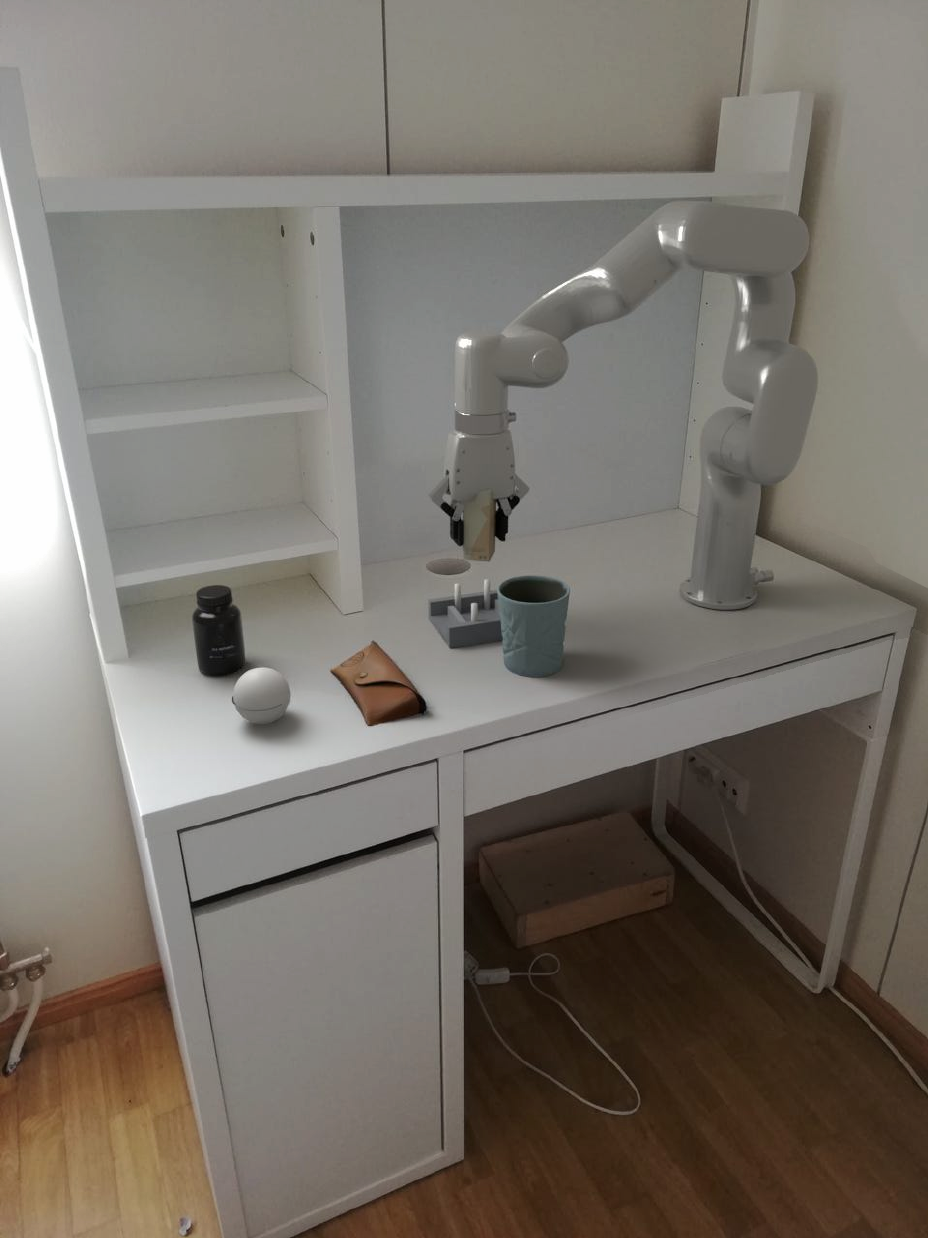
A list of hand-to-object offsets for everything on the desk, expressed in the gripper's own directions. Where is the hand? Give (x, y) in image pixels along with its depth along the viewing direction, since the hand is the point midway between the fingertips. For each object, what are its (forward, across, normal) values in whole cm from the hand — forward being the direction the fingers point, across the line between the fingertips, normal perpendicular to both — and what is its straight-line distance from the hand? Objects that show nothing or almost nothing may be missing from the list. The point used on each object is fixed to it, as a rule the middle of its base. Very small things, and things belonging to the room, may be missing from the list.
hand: (479, 539), depth 138 cm
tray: (+15, -1, 0) cm, 15 cm away
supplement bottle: (+15, +39, 0) cm, 42 cm away
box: (+3, 0, 0) cm, 3 cm away
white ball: (+15, +36, +18) cm, 43 cm away
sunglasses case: (+16, +20, +14) cm, 29 cm away
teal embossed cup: (+15, -3, +14) cm, 21 cm away
